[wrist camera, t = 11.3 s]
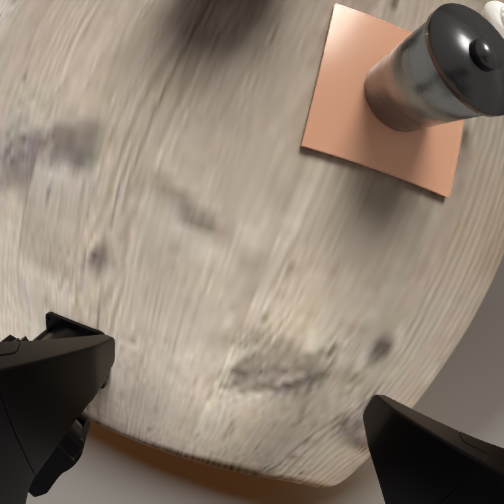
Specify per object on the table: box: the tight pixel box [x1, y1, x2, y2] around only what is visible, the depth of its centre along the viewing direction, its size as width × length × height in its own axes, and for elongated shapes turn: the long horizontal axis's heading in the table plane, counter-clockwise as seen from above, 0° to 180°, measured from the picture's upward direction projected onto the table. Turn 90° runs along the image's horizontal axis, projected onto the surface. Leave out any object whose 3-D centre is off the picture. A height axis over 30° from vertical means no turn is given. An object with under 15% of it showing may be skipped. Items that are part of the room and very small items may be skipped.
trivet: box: [301, 3, 464, 198], centre depth 18 cm, size 12×12×1 cm
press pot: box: [365, 3, 504, 132], centre depth 13 cm, size 6×6×10 cm
